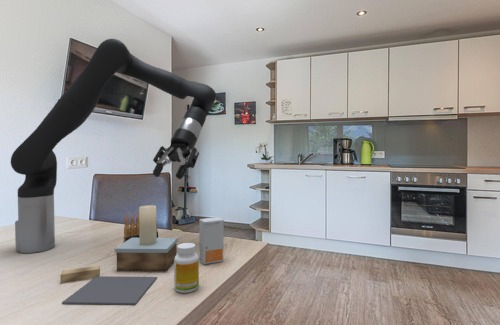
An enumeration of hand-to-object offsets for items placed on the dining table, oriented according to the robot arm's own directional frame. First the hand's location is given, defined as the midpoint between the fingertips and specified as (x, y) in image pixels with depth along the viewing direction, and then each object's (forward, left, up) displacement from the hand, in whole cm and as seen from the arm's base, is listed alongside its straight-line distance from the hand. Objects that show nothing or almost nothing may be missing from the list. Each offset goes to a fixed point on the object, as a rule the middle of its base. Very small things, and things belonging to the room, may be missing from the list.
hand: (166, 176), depth 83 cm
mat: (-5, -22, -24) cm, 33 cm away
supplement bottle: (+11, -21, -24) cm, 33 cm away
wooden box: (-3, -8, -24) cm, 25 cm away
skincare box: (+14, -5, -24) cm, 28 cm away
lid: (-3, -8, -19) cm, 20 cm away
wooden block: (-16, -16, -24) cm, 33 cm away
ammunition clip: (-10, +4, -24) cm, 26 cm away
